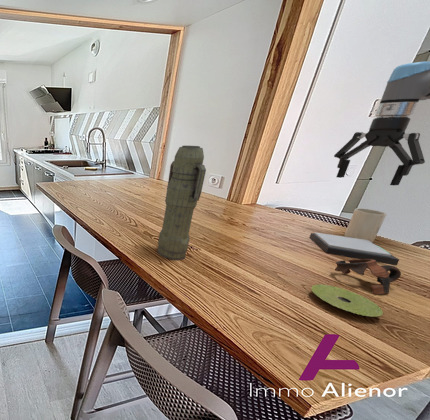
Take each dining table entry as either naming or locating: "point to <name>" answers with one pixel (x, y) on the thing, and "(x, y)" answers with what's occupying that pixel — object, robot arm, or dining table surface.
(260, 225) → the dining table surface
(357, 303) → the green disc
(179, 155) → the thermos
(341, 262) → the brown branching piece
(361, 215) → the cup
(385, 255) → the kitchen scale
